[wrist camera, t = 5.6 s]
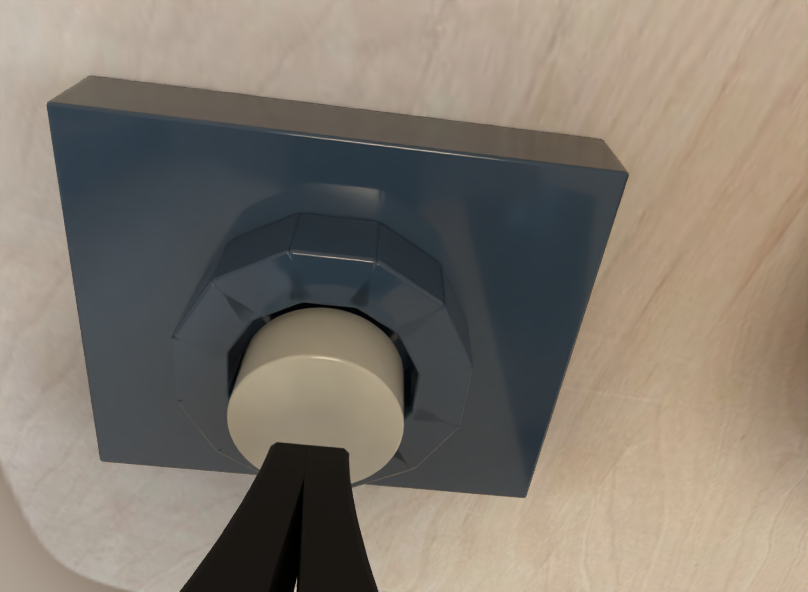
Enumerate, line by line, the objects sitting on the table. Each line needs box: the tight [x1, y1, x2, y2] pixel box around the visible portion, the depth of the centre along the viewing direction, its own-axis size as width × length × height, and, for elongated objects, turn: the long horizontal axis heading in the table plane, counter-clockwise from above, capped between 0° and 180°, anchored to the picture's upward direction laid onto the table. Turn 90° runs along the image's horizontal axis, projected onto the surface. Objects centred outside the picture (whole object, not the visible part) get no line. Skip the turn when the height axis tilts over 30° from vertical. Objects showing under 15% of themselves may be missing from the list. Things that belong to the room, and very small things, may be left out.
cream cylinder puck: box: [227, 307, 404, 484], centre depth 14 cm, size 4×4×2 cm
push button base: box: [47, 76, 629, 498], centre depth 17 cm, size 12×10×4 cm
